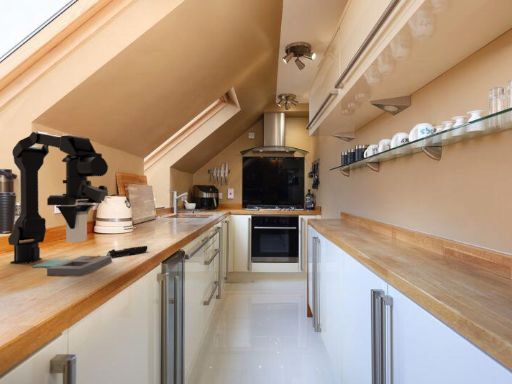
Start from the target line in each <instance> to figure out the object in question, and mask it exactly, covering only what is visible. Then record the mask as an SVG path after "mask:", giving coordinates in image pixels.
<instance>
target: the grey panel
mask: <svg viewBox="0 0 512 384" xmlns="http://www.w3.org/2000/svg"><path fill="white" fill-rule="evenodd" d="M112 260H113V258H112V256H106V255H99V254H98V255H97V254H92V255H81V256H78V257H75V258H72V260H69V261H66V262H64V263H61V264H58V265H55V266H52V267H49V268H46V276H64V277H65V276H66V277H67V276H71V277H72V276H74V277H75V276H76V277H77V276H78V277H79V276H81V277H82V276H83V275H86V274H88V273H91V272H93V271H94V270H97V269H99V268H101V267H103V266H105V265H108V264H110V263H111V262H112Z"/></svg>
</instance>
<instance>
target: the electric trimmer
mask: <svg viewBox="0 0 512 384" xmlns="http://www.w3.org/2000/svg"><path fill="white" fill-rule="evenodd" d="M147 251H148V245H142V246H134V247H133V246H132V247H127V248H122V249H118V250H116V249H111V250H109V251H108V252H107V254H106V255H105V256H112V259H113V258H118V257H123V256H132V255H137V254H141V253H145V252H147Z"/></svg>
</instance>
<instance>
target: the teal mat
mask: <svg viewBox="0 0 512 384" xmlns="http://www.w3.org/2000/svg"><path fill="white" fill-rule="evenodd" d="M72 259H73V258H72ZM72 259H69V258H68V259H67V258H58V259H57V258H52V259H50V260H46V261H43V262H39V263H37V264H34V265H32V266H31V267H32V268H39V269H40V268H42V269H43V268H45V269H47V268H49V267H52V266H55V265H58V264H61V263H64V262H66V261H69V260H72Z"/></svg>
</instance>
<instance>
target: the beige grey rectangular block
mask: <svg viewBox="0 0 512 384" xmlns="http://www.w3.org/2000/svg"><path fill="white" fill-rule="evenodd" d="M65 224H66V225H65V226H66V227H65V232H66V233H65V239H66V240H65V242H66V243H82V242H86V241H88V214H87V211H77V213H76V222H75V228H74V229H70V227H69V226H68V224H67V222H66V221H65Z"/></svg>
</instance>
